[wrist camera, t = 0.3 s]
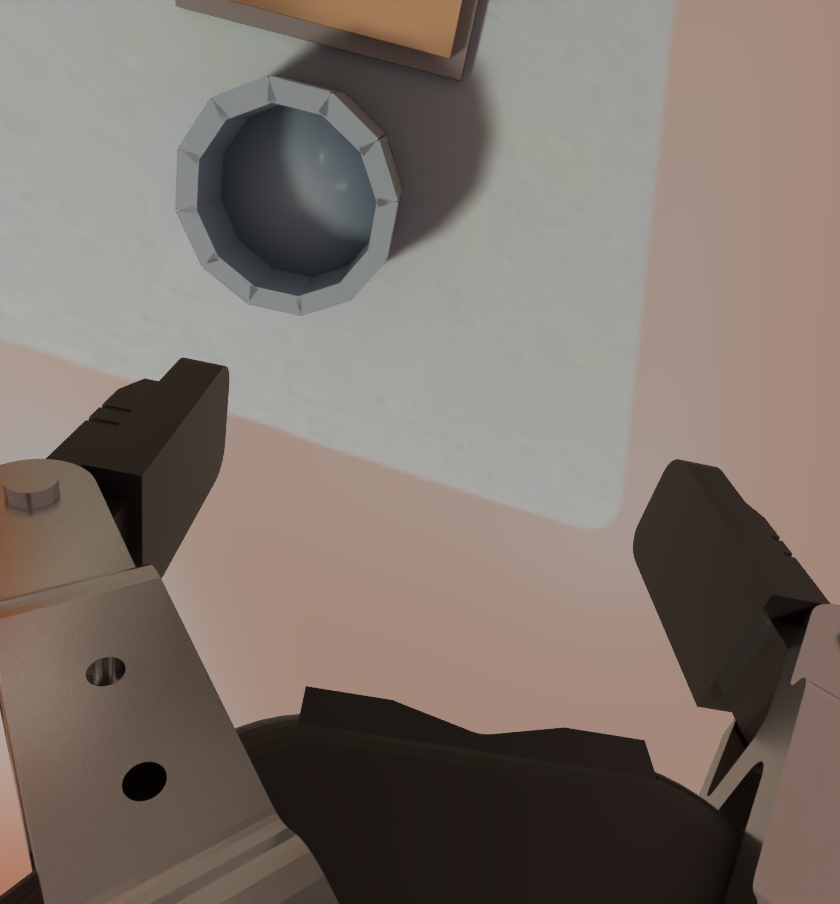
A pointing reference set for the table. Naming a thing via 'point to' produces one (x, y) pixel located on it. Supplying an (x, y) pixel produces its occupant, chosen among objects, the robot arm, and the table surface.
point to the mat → (347, 35)
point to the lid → (379, 19)
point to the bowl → (288, 194)
